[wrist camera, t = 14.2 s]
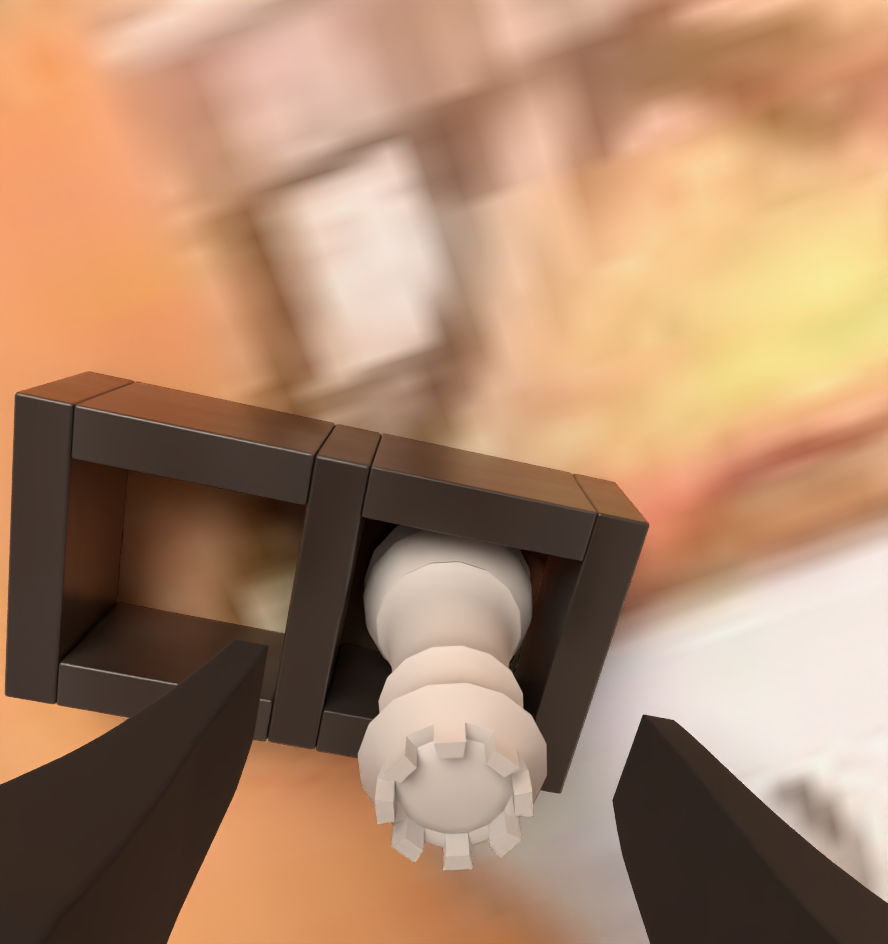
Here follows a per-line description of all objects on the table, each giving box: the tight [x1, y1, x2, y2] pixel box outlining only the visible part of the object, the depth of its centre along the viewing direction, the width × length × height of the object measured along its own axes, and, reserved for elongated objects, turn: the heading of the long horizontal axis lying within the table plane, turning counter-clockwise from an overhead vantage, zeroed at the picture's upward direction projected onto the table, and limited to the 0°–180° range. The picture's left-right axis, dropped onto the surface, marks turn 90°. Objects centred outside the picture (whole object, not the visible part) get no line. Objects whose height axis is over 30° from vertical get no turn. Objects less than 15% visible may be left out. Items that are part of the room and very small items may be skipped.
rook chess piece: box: [358, 525, 547, 870], centre depth 14 cm, size 4×4×8 cm
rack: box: [5, 372, 649, 793], centre depth 17 cm, size 14×7×3 cm, turn 78°
